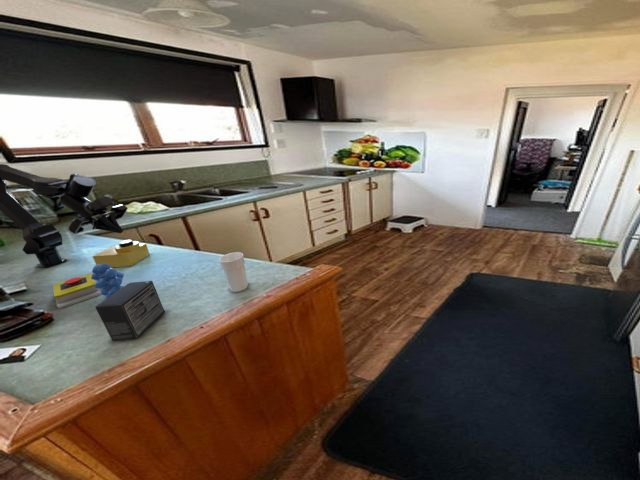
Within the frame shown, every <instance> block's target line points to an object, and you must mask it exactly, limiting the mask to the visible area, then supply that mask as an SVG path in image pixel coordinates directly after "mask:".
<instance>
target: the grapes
mask: <svg viewBox="0 0 640 480" xmlns="http://www.w3.org/2000/svg"><path fill="white" fill-rule="evenodd" d="M91 274H92V276H91V279H94V280H97V282H96V284H95V287H96V288H99V289H100V291H101V294H100V295H102V296H106V297H107V298H108V297H110V296H111V295H113V294H114V293H116V292H117V291H118V290H120V289H121V288H123V287H124V285H122V284H123V281H124V276H125V273H123V272H120V271H119V270H118V269H115V268H112V267H111V265H108V264H100V265H96V264H95V265H94V266H93V268H92V270H91Z"/></svg>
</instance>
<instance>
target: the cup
mask: <svg viewBox="0 0 640 480" xmlns="http://www.w3.org/2000/svg"><path fill="white" fill-rule="evenodd" d="M244 256H245V255H244V254H243V252H240V251H234V252H229V253H226V254H223V255H221V256H220V257H219V258H218V259H219V264H220V266H221V270H222V271H223V273H224V276H225V280H226V281H227V285H228V288H229V291H231V292H232V293H237V292H241V291H244V290H246V289H247V288H248V287H249V283H248V278H247V277H248V276H247V270H246V266H245V265H246V262H245V257H244Z"/></svg>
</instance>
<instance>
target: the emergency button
mask: <svg viewBox="0 0 640 480" xmlns="http://www.w3.org/2000/svg"><path fill="white" fill-rule="evenodd" d="M92 274H93V273H87V274H84V275H81V276H80V275H79V276H77V277H76V276H75V277H72V278H69V279H67V280H63V281H60V282H57V283H55V284H53V285H52V286H53V297H54V299H55V302H56V307H57V309H63V308H66V307H68V306H72V305H74V304H77V303H80V302H83V301H86V300H89V299H92V298H96V297H97V296H100V295H102V294H101V291H102V290H101V289H99V288H96V287H95V284H96V282H97V281H98V280H94V279H91V276H92Z"/></svg>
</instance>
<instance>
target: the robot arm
mask: <svg viewBox="0 0 640 480" xmlns="http://www.w3.org/2000/svg"><path fill="white" fill-rule="evenodd" d="M5 181H7V182H11V183H12V184H13V183H14V184H17V185H20V186H23V187H26V188H30V189H32V191H33V192H34V193H35V194H37V195H40V196H42V197H44V198H46V199H51V198H56V197H59V198H57V199H56V207H58V208H62V207H66V208H68V209H70V210H71V211H73V212H74V216H76V217H75V218H73V219H72V221H70V222H71V223H70V224H69V226H68V230H69V232H70V233H73V234H74V235H77V234H80V233H83V232H84V231H85V230H84V227H85V226H88V225H91V229H92V230H99V231H105V232H112V233H117V234H122V233H123V232H124V230H123V228H122V226H121V225H120V224H119V223H118V221H117V220H120V219H122V218H123V217H124V216H125V214H126V212H127V211H128V207H127V206H126V205H124V204H118V205H115V206H112V207H111V208H110V210H109V207H110V206H111V205H114V204H115V202H116V199H115V197H113V195H111V194H109V193H108V194H104V195H103V196H101V197H98V198H96V199H94V200H90V199H88V198H86V197H89V196H90V195H91V194H92V191H93V190H94V188H95V186H96V185H97V182H96V180H95V179H93V177H89V176H86V175H80V174H78V173H72V174H71V173H70V175H69V177H68V180H66V179H64V178H63V179H62V178H57V177H46V176H40V175H37V174H33V173H32V172H31V173H30V172H27V171H25V170H21V169H18V168H14V167H11V166H9V164H5V163H0V211H1V213H3V214H4V215H5V216H6V217H7V218H8V219H9V220H10V221H11V222H13V223H14V224H15V225H16V226H17V227H18V228H19V229H20V230H21V231H22V240H24V242H25V244H24V245H23V248H22V252H23V253H24V254H25V255H35V257H36V259H37V260H38V263H37V264H36V267H40V268H43V269H46V268H49V267H52V266H56V265H58V264H61V263H65V262H67V261H68V259H67V258H63V257H62V256H61V254H60V252H59V249H58V248H57V247H60V246H62V245H63V244H64V243H63V235H62V233H61V232H60V231H61V230H59V229H57V228H56V227H55V226H54V225H53V224H52V223H47V224H45V223H41V222H40V221H39V220H38V219H37V218H35V216H34V215H33V214H31V212H29V211H28V210H27V209H26V208H25V207H24V206H23V205H22V204H20V202H18V200H16V199H15V198H14V196H12V195H11V194H10V193H9V192H8V191H7V183H6V182H5ZM108 210H109V211H108ZM107 211H108V212H107Z"/></svg>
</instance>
